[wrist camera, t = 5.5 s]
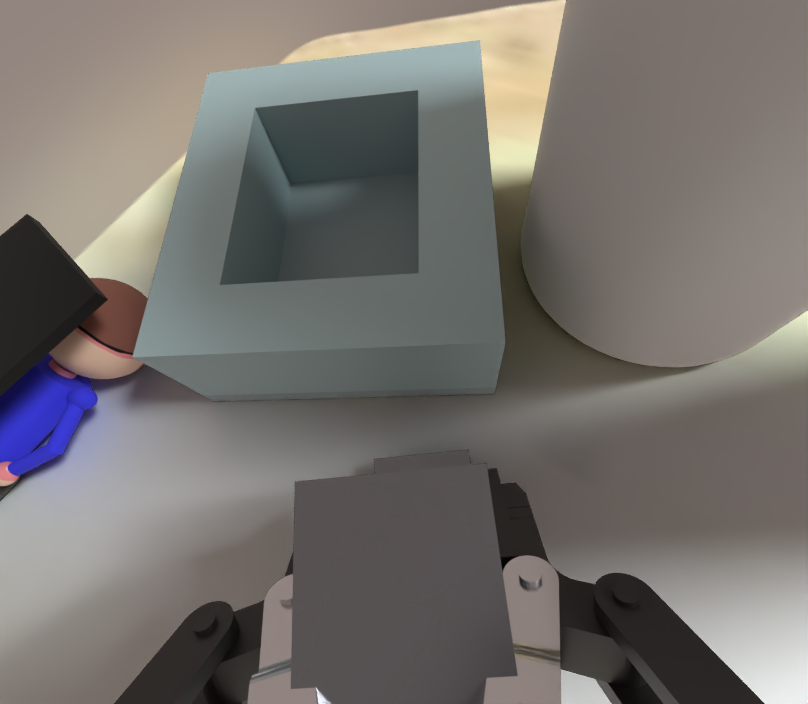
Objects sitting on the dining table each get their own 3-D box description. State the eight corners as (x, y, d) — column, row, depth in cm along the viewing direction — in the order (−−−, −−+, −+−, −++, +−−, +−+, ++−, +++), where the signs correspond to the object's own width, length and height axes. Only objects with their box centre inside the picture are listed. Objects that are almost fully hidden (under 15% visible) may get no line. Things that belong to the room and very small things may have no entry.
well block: (476, 141, 27) (479, 40, 21) (494, 394, 21) (505, 342, 15) (257, 162, 29) (208, 73, 23) (213, 401, 22) (132, 357, 17)
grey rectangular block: (488, 609, 17) (522, 707, 7) (388, 616, 18) (289, 718, 8) (468, 455, 20) (473, 371, 10) (380, 464, 20) (296, 391, 10)
